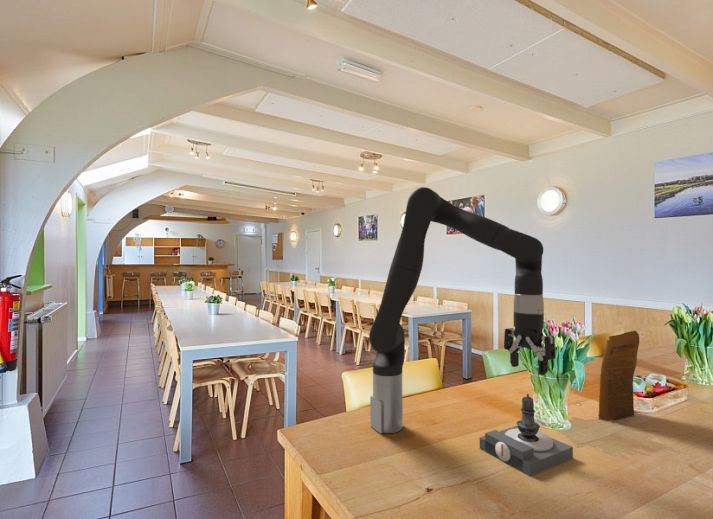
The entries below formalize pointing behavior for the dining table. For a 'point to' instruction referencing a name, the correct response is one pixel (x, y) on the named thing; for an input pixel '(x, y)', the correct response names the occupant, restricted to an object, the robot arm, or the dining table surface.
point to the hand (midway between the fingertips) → (528, 370)
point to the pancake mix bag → (618, 376)
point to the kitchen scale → (525, 450)
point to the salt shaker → (528, 421)
